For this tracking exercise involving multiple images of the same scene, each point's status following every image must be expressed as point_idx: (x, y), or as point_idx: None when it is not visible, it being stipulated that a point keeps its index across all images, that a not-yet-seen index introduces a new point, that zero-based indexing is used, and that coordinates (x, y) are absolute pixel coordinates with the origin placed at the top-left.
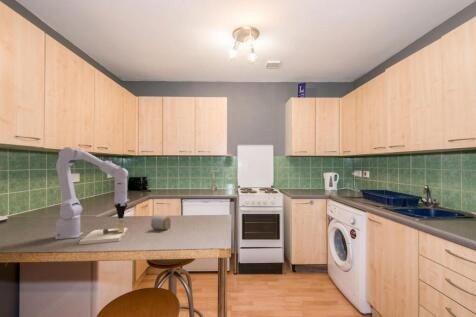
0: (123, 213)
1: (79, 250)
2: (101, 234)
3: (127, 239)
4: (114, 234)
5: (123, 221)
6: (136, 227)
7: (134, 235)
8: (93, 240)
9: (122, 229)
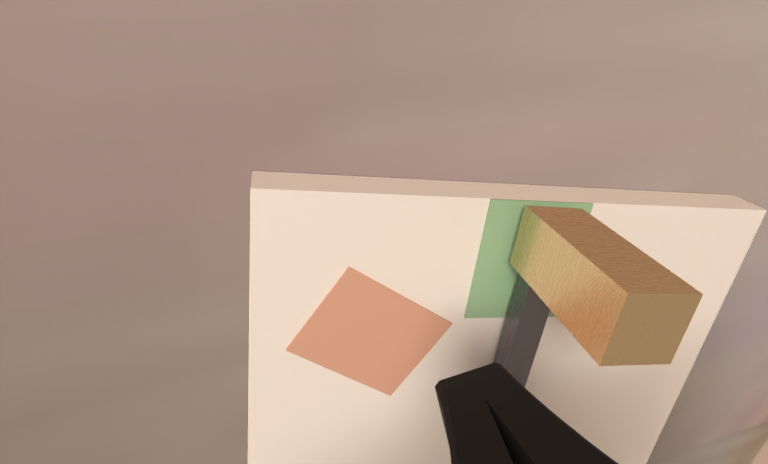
0: (580, 449)
1: (758, 427)
2: None
3: (731, 104)
4: None
5: (651, 291)
6: (19, 18)
7: (603, 21)
8: (661, 421)
9: (604, 230)
